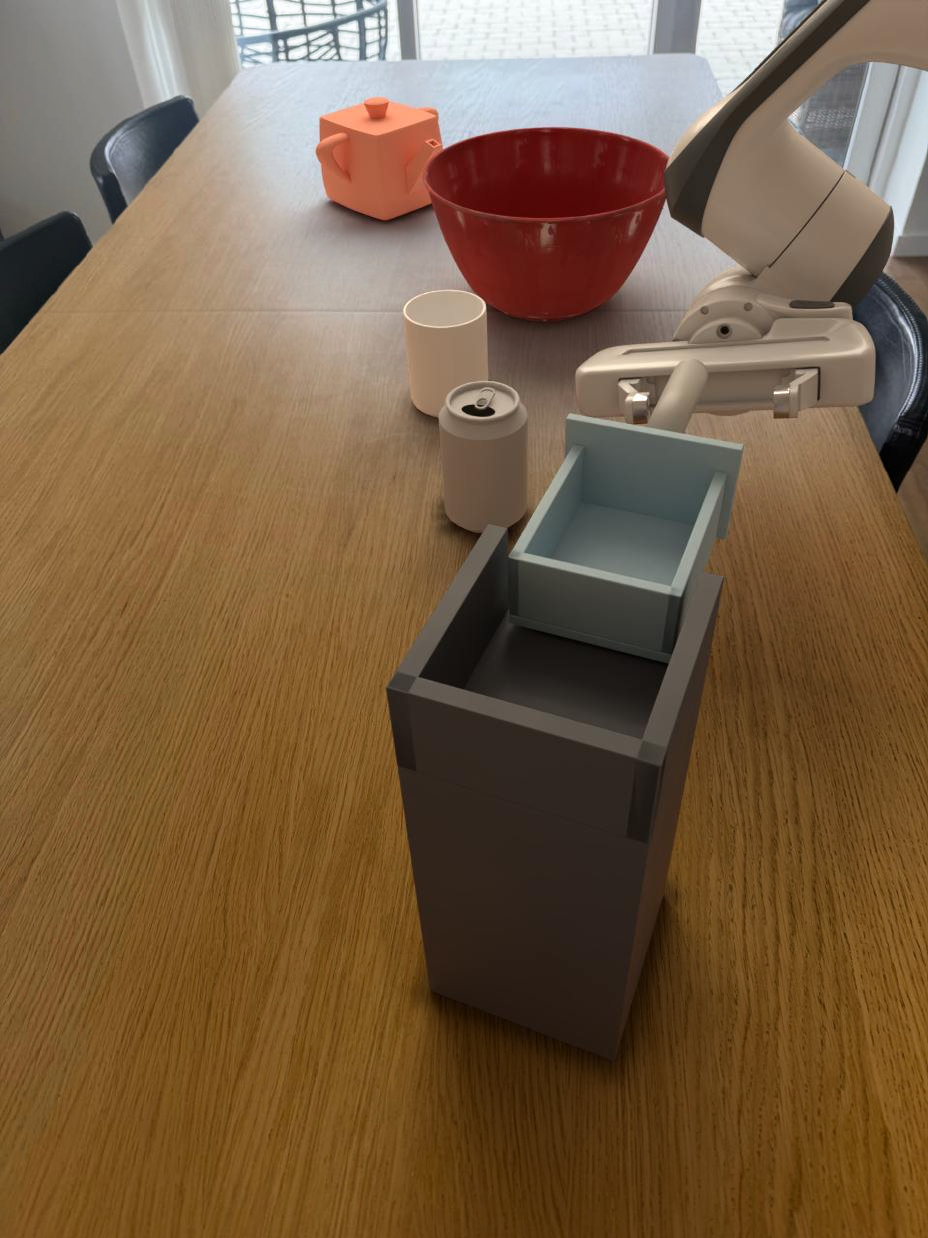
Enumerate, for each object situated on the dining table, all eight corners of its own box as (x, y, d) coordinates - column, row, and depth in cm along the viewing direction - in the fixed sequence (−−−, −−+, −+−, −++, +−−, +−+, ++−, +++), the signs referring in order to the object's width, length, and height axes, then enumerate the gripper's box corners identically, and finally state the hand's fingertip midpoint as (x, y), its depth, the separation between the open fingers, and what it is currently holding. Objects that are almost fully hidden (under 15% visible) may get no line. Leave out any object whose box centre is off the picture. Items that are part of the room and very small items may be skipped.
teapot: (296, 209, 143) (280, 107, 134) (409, 169, 154) (401, 71, 144) (381, 246, 132) (370, 137, 123) (496, 200, 143) (494, 96, 133)
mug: (440, 358, 109) (434, 270, 102) (509, 368, 107) (508, 278, 100) (399, 413, 101) (389, 321, 94) (473, 425, 99) (469, 332, 92)
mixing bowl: (707, 284, 120) (724, 152, 109) (572, 379, 105) (577, 237, 94) (526, 232, 134) (526, 111, 123) (384, 310, 118) (370, 179, 108)
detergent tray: (761, 435, 58) (778, 349, 54) (681, 667, 44) (696, 575, 40) (615, 409, 60) (621, 326, 57) (498, 621, 47) (496, 530, 43)
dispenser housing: (664, 893, 60) (724, 575, 42) (614, 1062, 52) (661, 766, 34) (498, 838, 63) (487, 523, 45) (429, 991, 56) (385, 687, 38)
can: (432, 529, 87) (422, 413, 78) (463, 482, 92) (457, 368, 83) (511, 546, 85) (509, 428, 76) (538, 497, 90) (539, 382, 81)
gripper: (592, 322, 76) (548, 371, 65) (874, 299, 69) (880, 350, 58) (598, 400, 79) (557, 460, 68) (870, 387, 72) (874, 451, 60)
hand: (708, 410), depth 63 cm, fingers open, 8 cm apart
